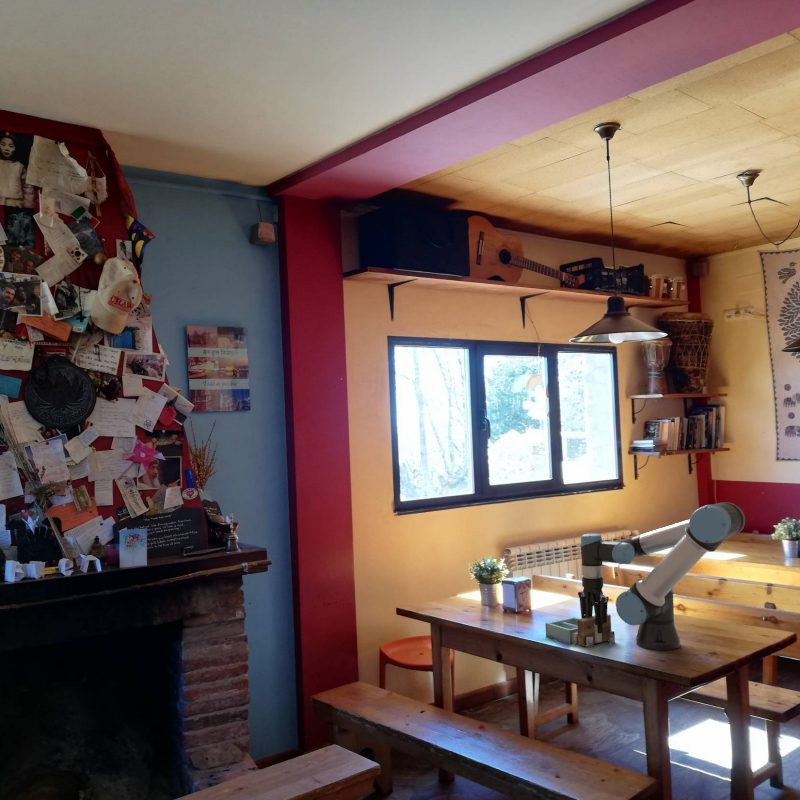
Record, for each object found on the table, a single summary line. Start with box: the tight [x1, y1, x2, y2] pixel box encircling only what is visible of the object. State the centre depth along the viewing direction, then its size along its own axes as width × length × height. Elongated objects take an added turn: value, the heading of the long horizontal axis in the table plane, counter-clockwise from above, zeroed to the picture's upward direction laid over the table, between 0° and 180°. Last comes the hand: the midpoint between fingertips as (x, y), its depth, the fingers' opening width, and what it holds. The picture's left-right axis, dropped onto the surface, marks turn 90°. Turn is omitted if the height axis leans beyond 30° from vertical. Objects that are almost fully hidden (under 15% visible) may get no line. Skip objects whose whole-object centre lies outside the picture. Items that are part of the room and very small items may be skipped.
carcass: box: [545, 616, 580, 645], centre depth 300 cm, size 13×15×5 cm
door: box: [577, 613, 612, 647], centre depth 290 cm, size 4×14×9 cm, turn 122°
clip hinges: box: [571, 630, 616, 650], centre depth 291 cm, size 8×13×4 cm, turn 122°
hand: (594, 640), depth 290 cm, fingers closed on door, 3 cm apart
